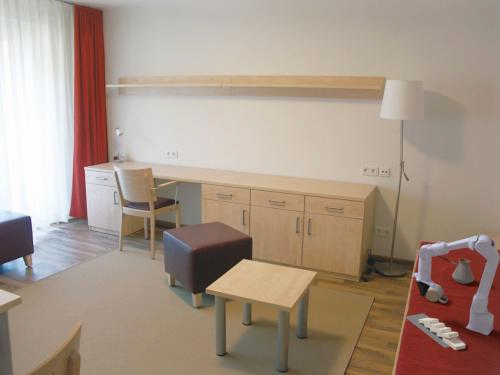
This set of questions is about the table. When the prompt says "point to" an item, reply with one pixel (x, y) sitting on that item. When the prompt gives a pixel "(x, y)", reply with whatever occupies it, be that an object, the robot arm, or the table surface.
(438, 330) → the domino
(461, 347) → the domino
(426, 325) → the domino
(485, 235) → the robot arm
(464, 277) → the coffee pot
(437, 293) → the ceramic mug
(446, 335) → the domino
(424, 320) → the domino
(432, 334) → the mat
